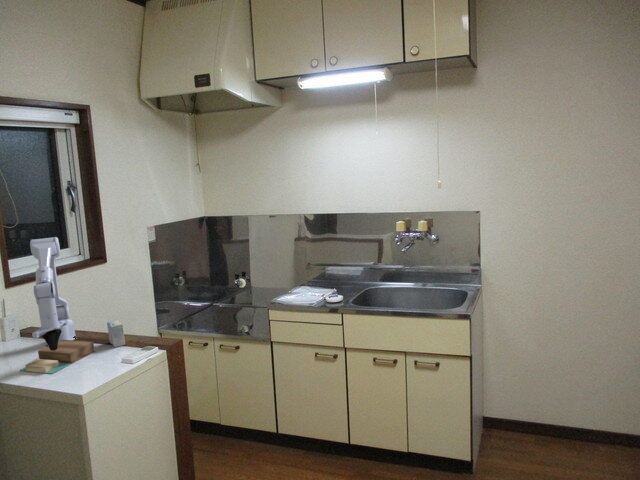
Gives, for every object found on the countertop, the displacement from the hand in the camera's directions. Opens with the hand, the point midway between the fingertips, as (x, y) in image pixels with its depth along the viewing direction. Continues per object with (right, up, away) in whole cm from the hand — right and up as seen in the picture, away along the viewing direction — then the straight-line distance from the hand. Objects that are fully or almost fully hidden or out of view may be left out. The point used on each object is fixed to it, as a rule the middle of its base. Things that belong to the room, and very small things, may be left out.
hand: (53, 349), depth 194 cm
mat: (-1, -6, -4) cm, 7 cm away
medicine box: (+17, -1, +17) cm, 24 cm away
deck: (+2, -4, +6) cm, 8 cm away
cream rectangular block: (-2, -4, -5) cm, 7 cm away
